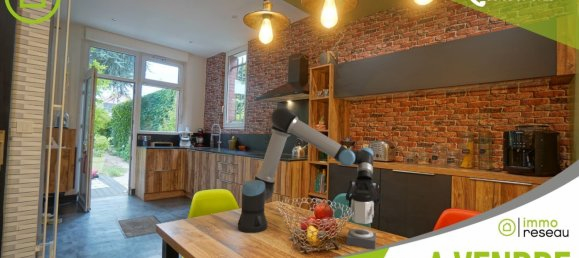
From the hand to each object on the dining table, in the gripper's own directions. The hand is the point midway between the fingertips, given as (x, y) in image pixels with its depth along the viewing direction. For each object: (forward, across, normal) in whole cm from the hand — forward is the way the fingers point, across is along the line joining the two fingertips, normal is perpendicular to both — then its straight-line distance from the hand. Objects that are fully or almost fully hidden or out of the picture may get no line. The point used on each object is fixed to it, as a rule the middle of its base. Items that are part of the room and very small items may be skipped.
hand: (361, 214), depth 119 cm
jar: (0, 0, -5) cm, 5 cm away
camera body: (+7, 0, -12) cm, 14 cm away
